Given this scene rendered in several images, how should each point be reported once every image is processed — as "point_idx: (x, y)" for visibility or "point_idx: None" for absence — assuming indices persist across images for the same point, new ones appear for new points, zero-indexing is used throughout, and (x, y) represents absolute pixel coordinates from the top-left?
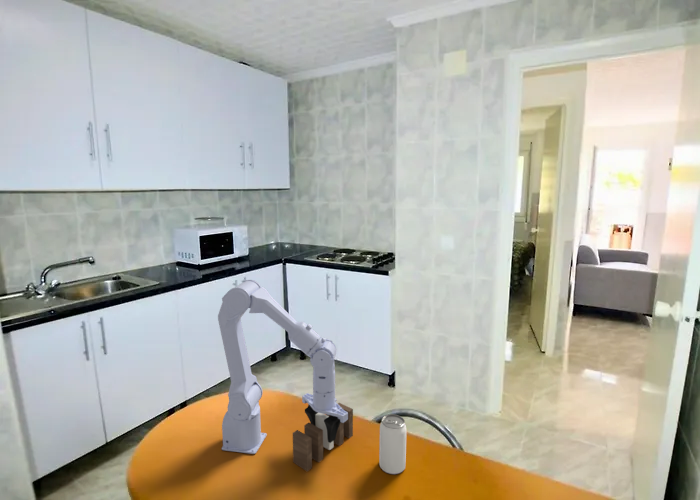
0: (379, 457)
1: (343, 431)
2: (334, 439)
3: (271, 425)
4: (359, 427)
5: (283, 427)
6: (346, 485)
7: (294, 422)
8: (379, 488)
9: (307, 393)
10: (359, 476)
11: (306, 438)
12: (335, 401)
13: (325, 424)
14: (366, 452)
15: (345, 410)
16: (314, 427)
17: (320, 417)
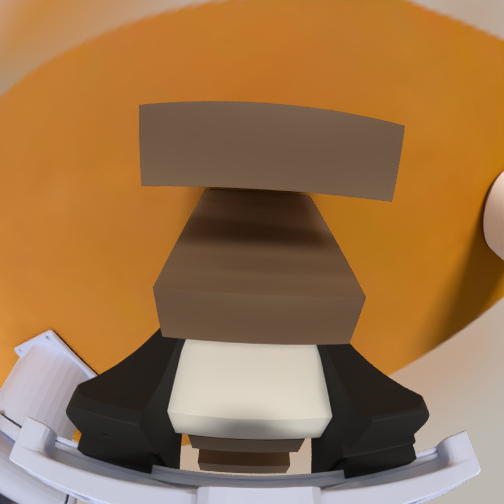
0: (501, 251)
1: (324, 221)
2: None
3: (17, 286)
4: (306, 31)
5: (38, 273)
6: (409, 346)
7: (30, 227)
8: (483, 301)
9: (16, 464)
10: (436, 305)
11: (272, 469)
12: (317, 501)
13: (312, 453)
14: (431, 193)
15: (329, 191)
16: (249, 445)
17: (229, 435)
